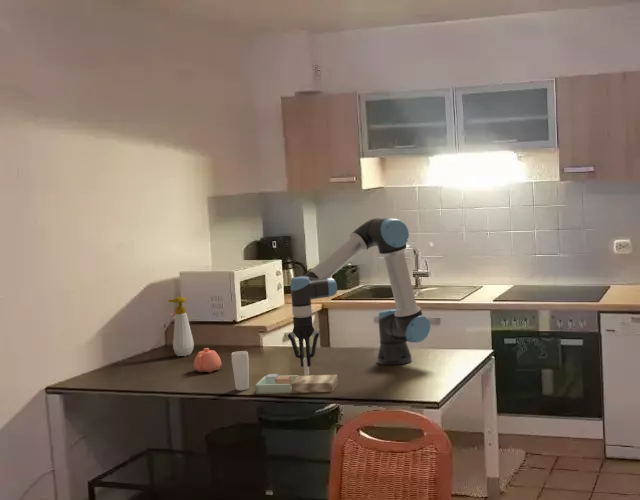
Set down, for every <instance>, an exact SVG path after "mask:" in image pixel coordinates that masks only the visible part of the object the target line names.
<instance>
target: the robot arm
mask: <svg viewBox="0 0 640 500" xmlns="http://www.w3.org/2000/svg"><path fill="white" fill-rule="evenodd" d="M409 232H410V231H409V229H408V226H407V225H406V224H405V222H404V221H402V220H401V219H397V218H394V217H392V218H391V217H389V218H385V217H384V218H379V217H378V218H376V217H375V218H371V219H369V220H367V221H366V222H364V223H363V224H361V225H360V226H358V227H357V228H356V229H355V230H354V231H353V232H351V233H350V234H349V238H347V240H345V241H344V242H343V243H342V244H341V245H339V246H337V248H336V249H334V250H333V251H332V252H331V253H330V254H328V255H327V256H326V257H325V258H323V259H322V260H321V261H320V262H319V263H318V264H316V265H314V267H313V268H312V269H310V270H309V271H308V272H307V273H306V274H303V275H300V276H296V277H295V276H294V277H292V278H291V279H290V295H291V296H290V297H291V308H292V310H291V311H292V316H293V317H292V322H293V328H292V331H291V332H290V333H288V334H287V338H288V339H289V340H290V343H291V346H292V348H293V350H292V351H294V352H293V353H294V356H295V358H297V359H298V358H299V360H300V366H301V368H303V376H307V375H310V367H311V366H312V359H311V358H313V357H315V355H316V350H317V344H318V339H319V337H320V335H321V332H319V331H316V330H315V328H314V326H313V324H314V323H313V316H312V300H316V299H323V298H329V297H334V296H336V294H337V292H338V285H337V282H336V280H335V279H334V278H333V277H332V276H333V275H334V274H336V273H337V272H338V271H340V270H341V269H342V268H343V267H344V266H346V265H347V264H348V263H349V262H350V261H351V260H353V259H354V258H355V257H357V255H359V254H360V253H361V252H363V253H364V252H366V251H367V250H369V249H371V248H372V247H377V248H378V252H379V254H380V255H382V256H383V258H384V262H385V266H386V270H387V275H388V279H389V283H390V286H391V288H390V289H391V290H392V291H391V292H392V294H393V295H392V296H393V299H394V304H395V308H394V309H386V310H381V311H379V312H378V319H377V321H378V330H379V348H378V352H377V356H376V360H377V361H376V362H377V364H379V365H384V366H385V365H386V366H387V365H388V366H396V365H403V364H408V363H411V362H412V360H413V359H412V354H411V351H410V348H409V345H408V343H415V344H417V343H422V342H423V341H425V339H427V337H428V335H429V334H430V331H431V323H430V320H429V318H427V317H426V316H425V315H423V312H422V308H421V307H420V306H419V305H417V302H416V298H415V293H414V289H413V288H414V287H413V285H412V279H411V276H410V272H409V267H408V263H407V259H406V255H405V251H406V250H407V243H408V239H409V236H410V235H409V234H410V233H409ZM311 336H313V339H312V340H313V341H312V347H311V343H310V342H311ZM295 337H297V339H298V344H297V342H296V338H295ZM304 342H305V347H304ZM298 346H299V347H298ZM305 354H306V356H305Z"/></svg>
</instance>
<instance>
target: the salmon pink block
mask: <svg viewBox="0 0 640 500" xmlns="http://www.w3.org/2000/svg"><path fill="white" fill-rule="evenodd" d="M276 384H290V385H291V376H286V375H278V377H277V378H276Z"/></svg>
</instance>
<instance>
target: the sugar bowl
mask: <svg viewBox="0 0 640 500" xmlns="http://www.w3.org/2000/svg"><path fill="white" fill-rule="evenodd" d="M194 358H195V359H194V362H193V368H194V369H195V371H197V372H198V373H204V372H207V373H210V374H211V373H213V372H214V371H218V370H220V368H221V366H222V360H221V358H220V356H219V354H218V352H216V350H213V349H212V350H211V349H210V348H209V347H205V348H203V350H201V351H198V353H197V355H196V356H195V357H194Z"/></svg>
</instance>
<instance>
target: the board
mask: <svg viewBox="0 0 640 500" xmlns="http://www.w3.org/2000/svg"><path fill="white" fill-rule="evenodd" d="M338 383H339V381H338V374H318V375H317V374H311V375H310V374H309V375H298V377H297V378H296V379H295V380H294V381H293V382H292V384H291V388H292V392H291V394H292V393H293V394H295V393H297V394H298V393H299V392H300V393H332V392H333V391H334V389H335V388H336V386H337V385H339V384H338Z"/></svg>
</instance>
